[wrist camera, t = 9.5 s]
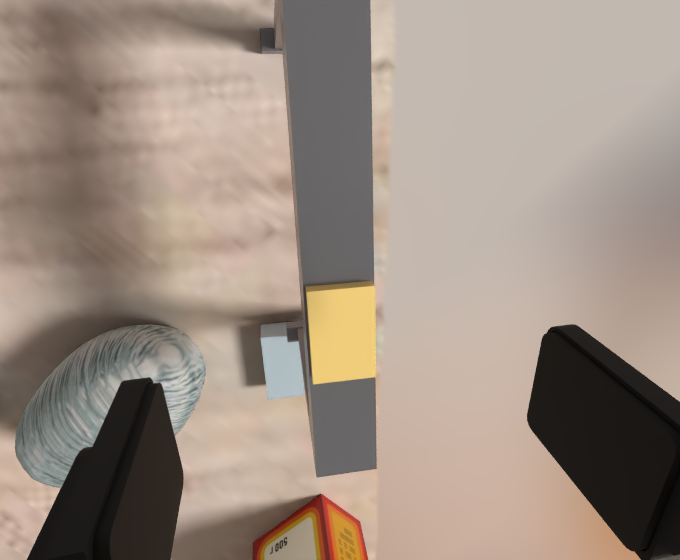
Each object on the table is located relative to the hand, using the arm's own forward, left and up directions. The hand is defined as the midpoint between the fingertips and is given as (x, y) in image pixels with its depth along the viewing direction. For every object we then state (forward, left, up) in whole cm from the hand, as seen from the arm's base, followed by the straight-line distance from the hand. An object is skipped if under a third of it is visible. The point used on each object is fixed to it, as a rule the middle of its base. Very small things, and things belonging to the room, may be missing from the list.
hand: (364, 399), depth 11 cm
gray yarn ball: (-14, -14, -23) cm, 31 cm away
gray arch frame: (0, -1, -22) cm, 22 cm away
